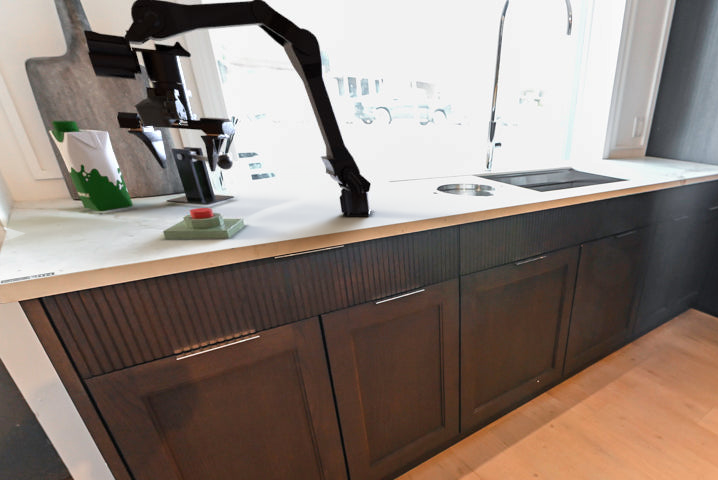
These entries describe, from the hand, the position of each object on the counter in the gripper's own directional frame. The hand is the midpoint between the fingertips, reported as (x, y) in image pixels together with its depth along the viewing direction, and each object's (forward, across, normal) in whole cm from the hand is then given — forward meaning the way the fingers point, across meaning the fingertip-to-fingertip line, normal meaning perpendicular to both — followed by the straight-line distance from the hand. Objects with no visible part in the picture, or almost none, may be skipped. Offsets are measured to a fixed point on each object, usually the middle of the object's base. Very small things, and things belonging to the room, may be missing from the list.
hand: (189, 169), depth 88 cm
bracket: (+13, -14, +29) cm, 34 cm away
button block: (+13, +1, -1) cm, 13 cm away
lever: (+3, -9, +27) cm, 29 cm away
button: (+10, +1, -1) cm, 10 cm away
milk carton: (+14, -30, +19) cm, 38 cm away
